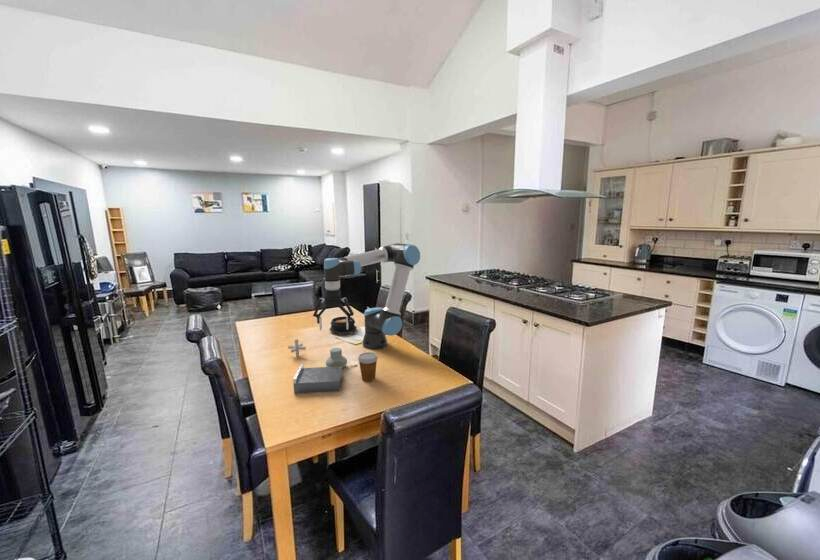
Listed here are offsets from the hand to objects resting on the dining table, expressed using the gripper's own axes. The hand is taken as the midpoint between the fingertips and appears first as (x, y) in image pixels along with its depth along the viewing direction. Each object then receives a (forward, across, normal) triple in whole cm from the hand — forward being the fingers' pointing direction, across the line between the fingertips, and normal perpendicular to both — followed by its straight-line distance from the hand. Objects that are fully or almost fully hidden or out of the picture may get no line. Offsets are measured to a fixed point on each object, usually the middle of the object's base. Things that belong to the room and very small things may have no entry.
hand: (334, 329), depth 180 cm
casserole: (+21, -2, +60) cm, 63 cm away
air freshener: (+21, 0, 0) cm, 21 cm away
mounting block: (+21, -5, -18) cm, 28 cm away
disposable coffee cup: (+21, +18, -15) cm, 31 cm away
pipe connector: (+21, -24, +18) cm, 36 cm away
